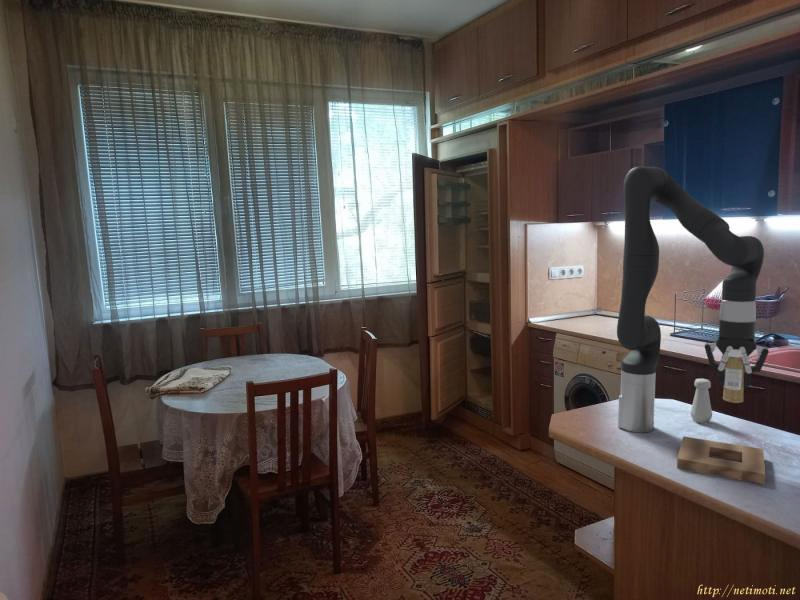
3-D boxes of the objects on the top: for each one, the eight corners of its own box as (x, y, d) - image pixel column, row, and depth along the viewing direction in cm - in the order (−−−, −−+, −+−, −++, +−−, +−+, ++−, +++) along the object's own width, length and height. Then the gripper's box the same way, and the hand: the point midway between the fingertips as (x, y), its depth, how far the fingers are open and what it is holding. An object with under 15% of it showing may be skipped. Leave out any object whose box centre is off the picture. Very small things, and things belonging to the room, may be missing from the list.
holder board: (676, 467, 134) (677, 458, 134) (683, 445, 148) (683, 436, 147) (764, 484, 125) (765, 474, 124) (762, 458, 138) (763, 449, 138)
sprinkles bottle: (746, 400, 135) (749, 347, 134) (738, 404, 133) (741, 350, 131) (727, 396, 139) (730, 345, 137) (718, 400, 137) (721, 347, 135)
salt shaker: (709, 418, 166) (712, 377, 164) (713, 425, 161) (716, 382, 159) (688, 417, 168) (690, 376, 166) (691, 423, 163) (693, 381, 161)
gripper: (703, 319, 134) (700, 386, 136) (773, 322, 126) (769, 393, 129) (704, 314, 140) (701, 378, 142) (771, 317, 133) (767, 385, 135)
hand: (733, 385), depth 135 cm, fingers closed on sprinkles bottle, 4 cm apart
